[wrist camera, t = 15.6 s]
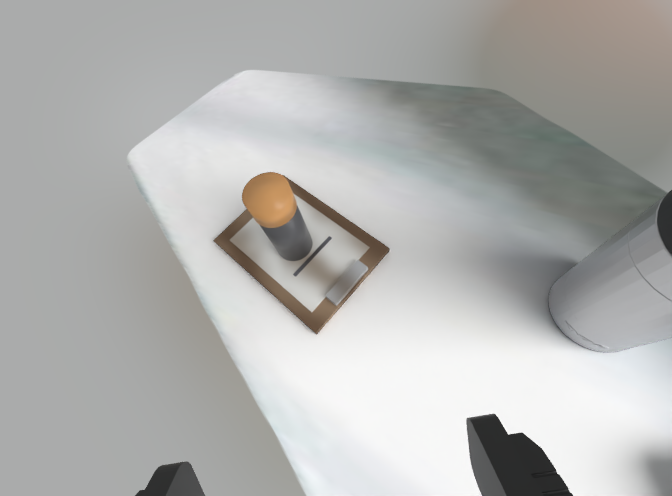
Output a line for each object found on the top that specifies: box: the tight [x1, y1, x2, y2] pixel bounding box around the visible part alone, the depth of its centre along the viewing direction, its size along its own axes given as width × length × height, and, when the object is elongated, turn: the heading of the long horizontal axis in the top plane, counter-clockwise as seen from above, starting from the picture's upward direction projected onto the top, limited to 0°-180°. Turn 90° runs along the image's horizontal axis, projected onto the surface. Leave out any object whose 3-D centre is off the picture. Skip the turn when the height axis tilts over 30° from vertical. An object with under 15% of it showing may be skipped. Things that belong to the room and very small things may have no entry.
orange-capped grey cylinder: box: [242, 172, 313, 261], centre depth 39 cm, size 5×5×12 cm
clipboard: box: [213, 175, 389, 334], centre depth 45 cm, size 14×20×2 cm
